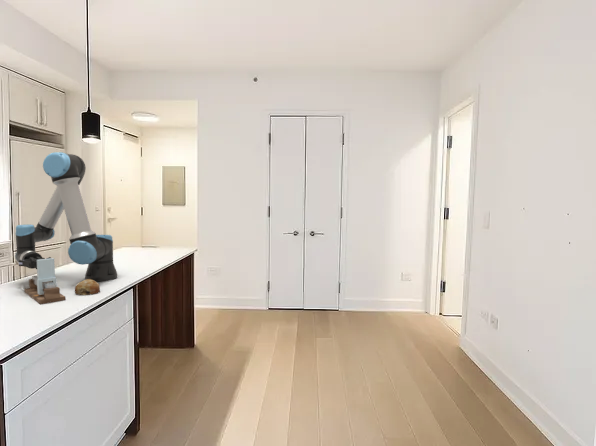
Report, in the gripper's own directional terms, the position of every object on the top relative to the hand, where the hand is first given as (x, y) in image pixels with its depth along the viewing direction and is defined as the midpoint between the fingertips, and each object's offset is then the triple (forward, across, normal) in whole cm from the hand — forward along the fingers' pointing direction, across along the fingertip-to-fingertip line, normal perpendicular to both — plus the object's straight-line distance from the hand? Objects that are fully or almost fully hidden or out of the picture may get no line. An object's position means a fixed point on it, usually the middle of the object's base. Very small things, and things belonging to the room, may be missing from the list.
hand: (44, 266), depth 168 cm
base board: (-4, 0, -14) cm, 14 cm away
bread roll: (+3, -15, -14) cm, 21 cm away
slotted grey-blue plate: (+2, 0, -11) cm, 11 cm away
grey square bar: (-4, 0, -10) cm, 10 cm away
